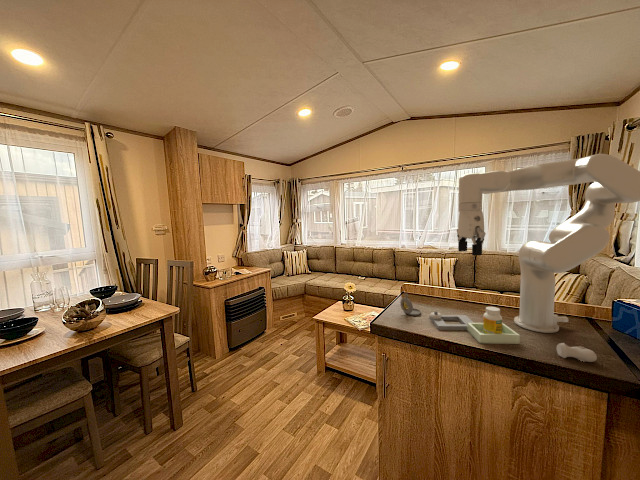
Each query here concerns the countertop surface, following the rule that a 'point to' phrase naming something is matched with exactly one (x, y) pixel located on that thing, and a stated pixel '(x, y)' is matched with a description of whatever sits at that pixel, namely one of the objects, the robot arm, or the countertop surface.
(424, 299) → the countertop surface
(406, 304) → the pocket watch
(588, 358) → the smooth white sculpture
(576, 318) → the countertop surface
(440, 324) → the plate
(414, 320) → the countertop surface
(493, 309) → the supplement bottle
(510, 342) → the tray
